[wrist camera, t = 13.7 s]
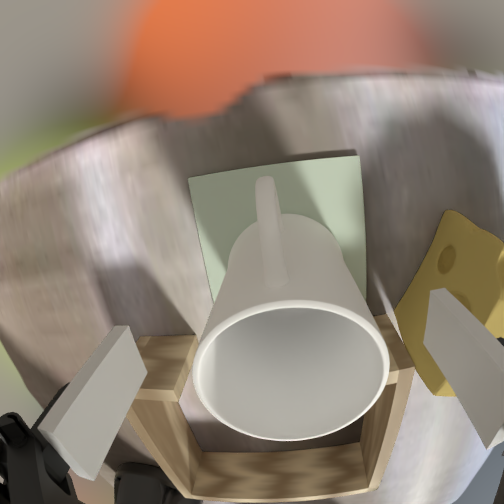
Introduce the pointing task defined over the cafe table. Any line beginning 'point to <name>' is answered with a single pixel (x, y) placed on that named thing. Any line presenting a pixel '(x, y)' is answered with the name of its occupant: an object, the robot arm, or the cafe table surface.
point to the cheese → (453, 289)
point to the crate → (262, 463)
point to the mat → (282, 208)
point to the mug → (288, 333)
